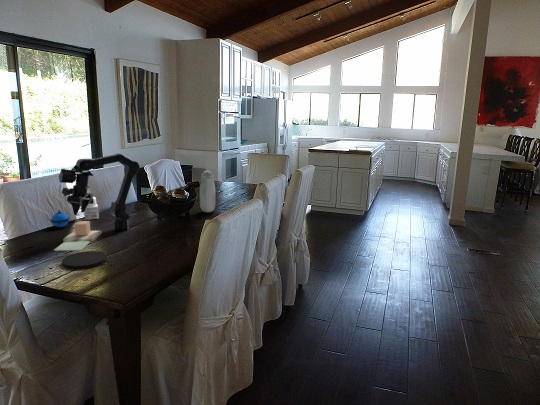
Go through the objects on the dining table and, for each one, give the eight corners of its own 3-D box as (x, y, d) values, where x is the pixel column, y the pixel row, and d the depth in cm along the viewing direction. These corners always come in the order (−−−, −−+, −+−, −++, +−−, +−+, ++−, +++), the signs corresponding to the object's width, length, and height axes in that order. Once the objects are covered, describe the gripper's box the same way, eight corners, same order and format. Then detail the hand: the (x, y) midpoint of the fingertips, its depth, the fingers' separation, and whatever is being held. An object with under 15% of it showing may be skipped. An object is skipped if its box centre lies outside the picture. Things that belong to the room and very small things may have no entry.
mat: (89, 242, 193) (89, 241, 193) (80, 250, 182) (80, 249, 182) (64, 242, 192) (64, 241, 192) (54, 250, 180) (53, 249, 180)
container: (85, 219, 232) (83, 198, 229) (84, 216, 239) (82, 196, 236) (99, 218, 236) (97, 197, 233) (98, 215, 242) (96, 195, 240)
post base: (101, 233, 208) (100, 220, 206) (92, 241, 194) (91, 228, 193) (74, 233, 207) (73, 220, 205) (63, 241, 193) (62, 228, 191)
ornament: (52, 225, 219) (51, 208, 217) (69, 224, 222) (68, 207, 220) (51, 229, 211) (49, 212, 209) (68, 228, 215) (67, 211, 213)
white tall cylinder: (214, 214, 253) (213, 171, 247) (198, 213, 253) (198, 171, 247) (216, 210, 263) (216, 169, 256) (201, 210, 263) (201, 169, 257)
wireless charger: (60, 272, 157) (60, 268, 157) (64, 257, 173) (63, 253, 173) (107, 267, 164) (107, 262, 164) (106, 253, 180) (106, 249, 180)
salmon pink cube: (90, 232, 203) (89, 221, 202) (86, 235, 198) (85, 224, 196) (79, 232, 202) (78, 221, 201) (75, 235, 197) (74, 224, 196)
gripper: (73, 180, 205) (70, 209, 207) (57, 182, 187) (54, 214, 188) (94, 183, 206) (91, 211, 208) (80, 186, 188) (77, 217, 189)
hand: (79, 213), depth 198 cm, fingers open, 9 cm apart
